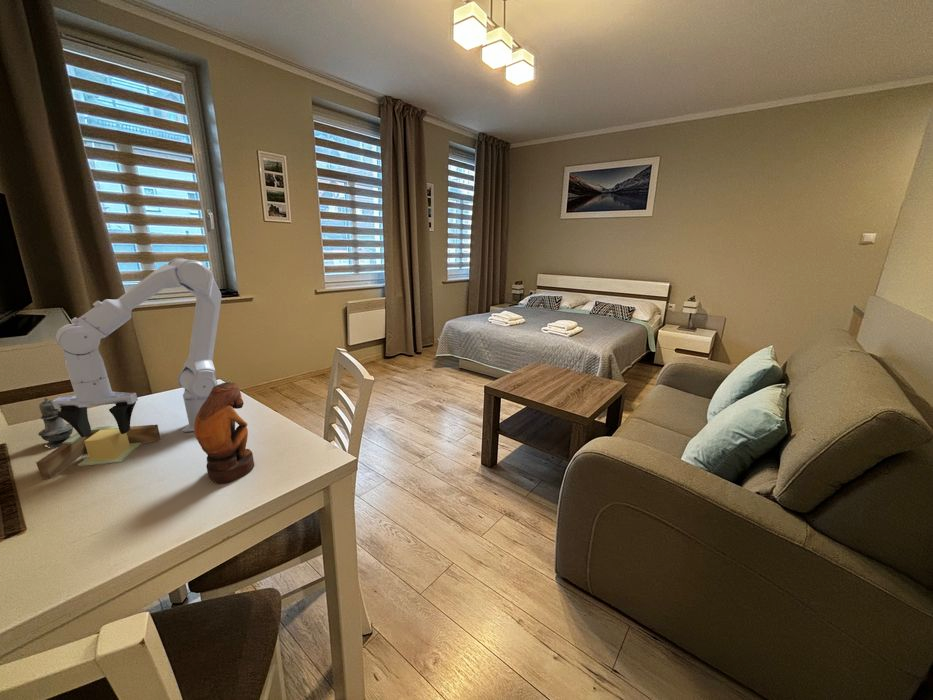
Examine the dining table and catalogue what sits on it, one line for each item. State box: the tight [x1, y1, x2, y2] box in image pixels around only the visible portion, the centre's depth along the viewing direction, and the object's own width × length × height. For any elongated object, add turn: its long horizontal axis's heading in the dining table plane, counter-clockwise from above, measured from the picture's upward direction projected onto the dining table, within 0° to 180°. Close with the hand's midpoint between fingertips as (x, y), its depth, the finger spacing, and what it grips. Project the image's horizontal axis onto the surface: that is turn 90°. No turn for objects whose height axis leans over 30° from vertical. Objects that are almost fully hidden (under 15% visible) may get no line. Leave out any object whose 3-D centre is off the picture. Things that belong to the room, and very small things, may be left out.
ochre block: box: [84, 429, 130, 461], centre depth 85 cm, size 5×5×5 cm
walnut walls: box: [35, 424, 162, 480], centre depth 84 cm, size 15×14×4 cm
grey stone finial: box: [37, 397, 74, 449], centre depth 88 cm, size 6×6×12 cm
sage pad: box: [77, 443, 143, 467], centre depth 86 cm, size 8×8×1 cm
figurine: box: [193, 381, 255, 484], centre depth 79 cm, size 9×10×20 cm
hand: (106, 433), depth 85 cm, fingers open, 7 cm apart
